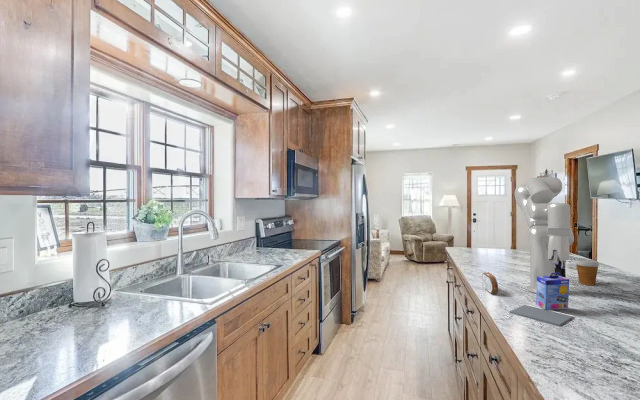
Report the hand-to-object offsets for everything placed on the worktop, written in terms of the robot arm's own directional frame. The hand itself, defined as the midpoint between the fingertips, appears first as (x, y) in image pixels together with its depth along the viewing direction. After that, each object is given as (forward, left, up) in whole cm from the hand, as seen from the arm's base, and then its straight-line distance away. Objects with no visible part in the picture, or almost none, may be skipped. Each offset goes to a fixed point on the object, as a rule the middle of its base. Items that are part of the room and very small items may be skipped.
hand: (560, 277), depth 126 cm
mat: (+17, -1, -12) cm, 21 cm away
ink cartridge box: (+6, -1, -11) cm, 13 cm away
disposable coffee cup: (-54, -5, -12) cm, 56 cm away
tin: (+1, -28, -12) cm, 31 cm away
